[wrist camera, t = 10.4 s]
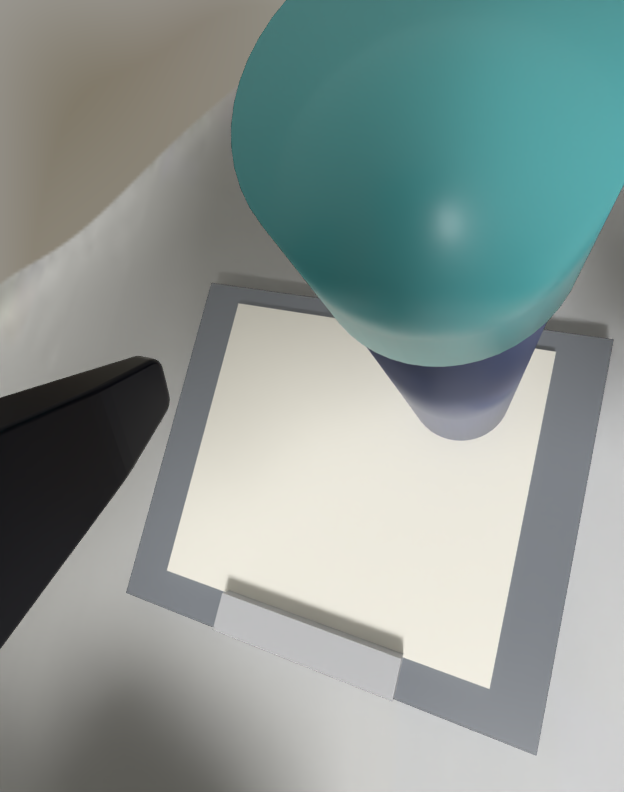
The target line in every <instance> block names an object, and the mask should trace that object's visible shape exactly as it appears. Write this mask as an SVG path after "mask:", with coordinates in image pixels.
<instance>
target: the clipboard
mask: <svg viewBox="0 0 624 792" xmlns="http://www.w3.org/2000/svg"><path fill="white" fill-rule="evenodd" d="M613 340H614V339H607V338H599V337H592V336H585V335H578V334H571V333H564V332H557V331H550V330H543V332H542V334H541V336H540V339H539V341H538V343H537V345H536V348H535V350H534V352H533V354H532V356H531V359H530V361H529V363H528V365H527V368H526V370H525V372H524V374H523V376H522V379H521V381H520V383H519V385H518V388H517V390H516V392H515V394H514V397H513V399H512V401H511V403H510V405H509V408H508V410H507V412H506V414H505V416H504V418H503V419H502V421H501V422H500V423H499V424H498V425H497V426H496V427H495V428H494V429H493V430H492V431H490V432H489V433H487V434H485V435H483V436H481V437H479V438H476V439H472V440H465V441H457V440H450V439H446V438H443V437H440V436H438V435H436V434H435V433H433V432H431V431H430V430H429V429H428V428H427V427H425V425H424V424H423V423H422V422H421V421H420V419H419V418H418V417H417V415H416V414H415V413H414V411H413V410H412V408H411V407H410V406H409V404H408V403H407V402H406V400H405V399H404V398H403V396H402V395H401V393H400V392H399V391H398V389H397V388H396V387H395V385H394V384H393V383H392V381H391V380H390V378H389V377H388V376H387V374H386V373H385V372H384V370H383V369H382V368H381V366H380V365H379V363H378V362H377V361H376V359H375V358H374V357H373V355H372V354H371V353H370V351H369V350H368V348H367V347H366V346H364V345H362V344H361V343H360V342H358V341H357V340H356V339H355V338H353V337H352V336H351V335H350V334H349V333H348V332H347V331H346V330H345V329H344V328H343V327H342V326H341V325H340V324H339V322H338V321H337V320H336V319H335V317H334V316H333V315H332V314H331V312H330V311H329V310H328V308H327V307H326V306H325V305H324V303H323V302H322V301H321V300H320V298H315V297H308V296H301V295H294V294H286V293H279V292H272V291H265V290H258V289H251V288H244V287H237V286H229V285H222V284H215V283H211V286H210V290H209V294H208V297H207V301H206V305H205V308H204V312H203V315H202V319H201V323H200V326H199V330H198V334H197V337H196V341H195V344H194V348H193V352H192V355H191V359H190V363H189V366H188V370H187V374H186V377H185V381H184V384H183V388H182V392H181V395H180V399H179V403H178V406H177V410H176V413H175V417H174V421H173V424H172V428H171V432H170V435H169V439H168V443H167V446H166V450H165V453H164V457H163V461H162V464H161V468H160V472H159V475H158V479H157V482H156V486H155V490H154V493H153V497H152V501H151V504H150V508H149V512H148V515H147V519H146V522H145V526H144V530H143V533H142V537H141V541H140V544H139V548H138V551H137V555H136V559H135V562H134V566H133V570H132V573H131V577H130V581H129V584H128V588H127V591H126V593H128V594H130V595H133V596H135V597H138V598H140V599H143V600H145V601H148V602H151V603H153V604H156V605H158V606H161V607H163V608H166V609H168V610H171V611H173V612H176V613H178V614H181V615H183V616H186V617H188V618H191V619H193V620H196V621H198V622H201V623H203V624H206V625H208V626H211V627H213V630H214V631H217V632H219V633H222V634H224V635H227V636H229V637H232V638H234V639H237V640H239V641H242V642H244V643H247V644H249V645H252V646H254V647H257V648H259V649H262V650H264V651H267V652H269V653H272V654H274V655H277V656H279V657H282V658H284V659H287V660H289V661H292V662H294V663H297V664H299V665H302V666H305V667H307V668H310V669H312V670H315V671H317V672H320V673H322V674H325V675H327V676H330V677H332V678H335V679H337V680H340V681H342V682H345V683H347V684H350V685H352V686H355V687H357V688H360V689H362V690H365V691H367V692H370V693H372V694H375V695H377V696H380V697H382V698H385V699H387V700H390V701H393V699H395V700H397V701H400V702H402V703H405V704H407V705H410V706H412V707H415V708H417V709H420V710H422V711H425V712H428V713H430V714H433V715H435V716H438V717H440V718H443V719H445V720H448V721H450V722H453V723H455V724H458V725H460V726H463V727H465V728H468V729H470V730H473V731H475V732H478V733H480V734H483V735H485V736H488V737H490V738H493V739H496V740H498V741H501V742H503V743H506V744H508V745H511V746H513V747H516V748H518V749H521V750H523V751H526V752H528V753H531V754H533V755H537V750H538V745H539V739H540V734H541V728H542V723H543V718H544V712H545V707H546V701H547V696H548V691H549V685H550V680H551V674H552V669H553V664H554V658H555V653H556V647H557V642H558V637H559V631H560V626H561V620H562V615H563V610H564V604H565V599H566V593H567V588H568V583H569V577H570V572H571V566H572V561H573V556H574V550H575V545H576V539H577V534H578V529H579V523H580V518H581V513H582V507H583V502H584V496H585V491H586V486H587V480H588V475H589V469H590V464H591V459H592V453H593V448H594V442H595V437H596V432H597V426H598V421H599V415H600V410H601V405H602V399H603V394H604V388H605V383H606V378H607V372H608V367H609V361H610V356H611V351H612V345H613Z"/></svg>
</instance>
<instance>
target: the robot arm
mask: <svg viewBox="0 0 624 792" xmlns="http://www.w3.org/2000/svg"><path fill="white" fill-rule="evenodd" d="M169 402H170V397H169V392H168V388H167V384H166V380H165V376H164V372H163V368H162V365H161V364H160V362H159V361H158V360H156V359H152V358H147V357H142V356H135V357H131V358H128V359H125V360H121V361H118V362H115V363H112V364H108V365H105V366H102V367H99V368H95V369H92V370H89V371H86V372H82V373H79V374H76V375H73V376H69V377H66V378H63V379H60V380H57V381H53V382H50V383H47V384H44V385H40V386H37V387H34V388H31V389H27V390H24V391H21V392H18V393H14V394H11V395H8V396H5V397H1V398H0V649H1V647H2V646H3V645H4V643H5V642H6V641H7V639H8V638H9V636H10V635H11V634H12V632H13V631H14V630H15V628H16V627H17V626H18V624H19V623H20V622H21V620H22V619H23V618H24V616H25V615H26V614H27V612H28V611H29V609H30V608H31V607H32V605H33V604H34V603H35V601H36V600H37V599H38V597H39V596H40V595H41V593H42V592H43V591H44V589H45V588H46V586H47V585H48V584H49V582H50V581H51V580H52V578H53V577H54V576H55V574H56V573H57V572H58V570H59V569H60V568H61V566H62V565H63V564H64V562H65V561H66V559H67V558H68V557H69V555H70V554H71V553H72V551H73V550H74V549H75V547H76V546H77V545H78V543H79V542H80V541H81V539H82V538H83V537H84V535H85V534H86V532H87V531H88V530H89V528H90V527H91V526H92V524H93V523H94V522H95V520H96V519H97V518H98V516H99V515H100V514H101V512H102V511H103V509H104V508H105V507H106V505H107V504H108V503H109V501H110V500H111V499H112V497H113V496H114V495H115V493H116V492H117V491H118V489H119V488H120V486H121V485H122V484H123V482H124V481H125V479H126V478H127V477H128V475H129V473H130V472H131V470H132V469H133V467H134V465H135V464H136V462H137V460H138V459H139V457H140V455H141V454H142V452H143V450H144V449H145V447H146V445H147V444H148V442H149V440H150V439H151V437H152V435H153V434H154V432H155V430H156V429H157V427H158V425H159V423H160V422H161V420H162V418H163V417H164V415H165V413H166V412H167V410H168V407H169Z"/></svg>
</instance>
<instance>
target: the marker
mask: <svg viewBox="0 0 624 792" xmlns="http://www.w3.org/2000/svg"><path fill="white" fill-rule="evenodd" d="M231 148H232V154H233V161H234V168H235V171H236V175H237V178H238V181H239V185H240V188H241V190H242V192H243V195H244V197H245V199H246V201H247V203H248V205H249V207H250V209H251V210H252V212H253V213H254V215H255V216H256V218H257V219H258V221H259V222H260V224H261V225H262V226H263V228H264V229H265V230H266V231H267V233H268V234H269V235H270V236H271V238H272V239H273V240H274V242H275V243H276V244H277V245H278V247H279V248H280V249H281V250H282V252H283V253H284V254H285V255H286V257H287V258H288V259H289V260H290V262H291V263H292V264H293V266H294V267H295V268H296V269H297V271H298V272H299V273H300V274H301V276H302V277H303V278H304V279H305V281H306V282H307V283H308V284H309V286H310V287H311V288H312V290H313V291H314V292H315V293H316V295H317V296H318V297H319V298H320V300H321V301H322V302H323V303H324V305H325V306H326V307H327V308H328V310H329V311H330V312H331V314H332V315H333V316H334V317H335V319H336V320H337V321H338V322H339V324H340V325H341V326H342V327H343V328H344V329H345V330H346V331H347V332H348V333H349V334H350V335H351V336H352V337H353V338H355V339H356V340H357V341H358V342H360V343H361V344H362V345H364V346H366V347H367V348H368V350H369V351H370V353H371V354H372V355H373V357H374V358H375V359H376V361H377V362H378V363H379V365H380V366H381V368H382V369H383V370H384V372H385V373H386V374H387V376H388V377H389V378H390V380H391V381H392V383H393V384H394V385H395V387H396V388H397V389H398V391H399V392H400V393H401V395H402V396H403V398H404V399H405V400H406V402H407V403H408V404H409V406H410V407H411V408H412V410H413V411H414V413H415V414H416V415H417V417H418V418H419V419H420V421H421V422H422V423H423V424H424V425H425V427H427V428H428V429H429V430H430V431H431V432H433V433H435V434H436V435H438V436H440V437H443V438H446V439H450V440H457V441H465V440H472V439H476V438H479V437H481V436H483V435H485V434H487V433H489V432H490V431H492V430H493V429H494V428H495V427H496V426H497V425H498V424H499V423H500V422H501V421H502V419H503V418H504V416H505V414H506V412H507V410H508V408H509V405H510V403H511V401H512V399H513V397H514V394H515V392H516V390H517V388H518V385H519V383H520V381H521V379H522V376H523V374H524V372H525V370H526V368H527V365H528V363H529V361H530V359H531V356H532V354H533V352H534V350H535V348H536V345H537V343H538V341H539V339H540V336H541V334H542V332H543V330H544V327H545V325H546V323H547V321H548V320H549V319H550V318H551V317H552V316H553V314H554V313H555V312H556V311H557V310H558V309H559V308H560V306H561V305H562V303H563V302H564V300H565V299H566V297H567V296H568V294H569V293H570V291H571V289H572V287H573V285H574V283H575V281H576V279H577V277H578V275H579V273H580V271H581V269H582V267H583V265H584V263H585V261H586V259H587V257H588V255H589V253H590V251H591V249H592V247H593V245H594V243H595V241H596V239H597V237H598V235H599V233H600V231H601V229H602V227H603V225H604V223H605V221H606V219H607V217H608V215H609V213H610V211H611V209H612V207H613V205H614V203H615V201H616V199H617V197H618V195H619V193H620V191H621V189H622V187H623V185H624V0H286V1H285V2H284V4H283V5H282V6H281V7H280V9H279V10H278V11H277V12H276V13H275V15H274V16H273V17H272V19H271V20H270V22H269V23H268V25H267V27H266V28H265V29H264V31H263V33H262V34H261V36H260V37H259V39H258V41H257V43H256V45H255V47H254V48H253V50H252V52H251V54H250V56H249V58H248V61H247V63H246V66H245V69H244V71H243V74H242V77H241V79H240V81H239V85H238V89H237V93H236V97H235V101H234V107H233V115H232V123H231Z"/></svg>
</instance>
